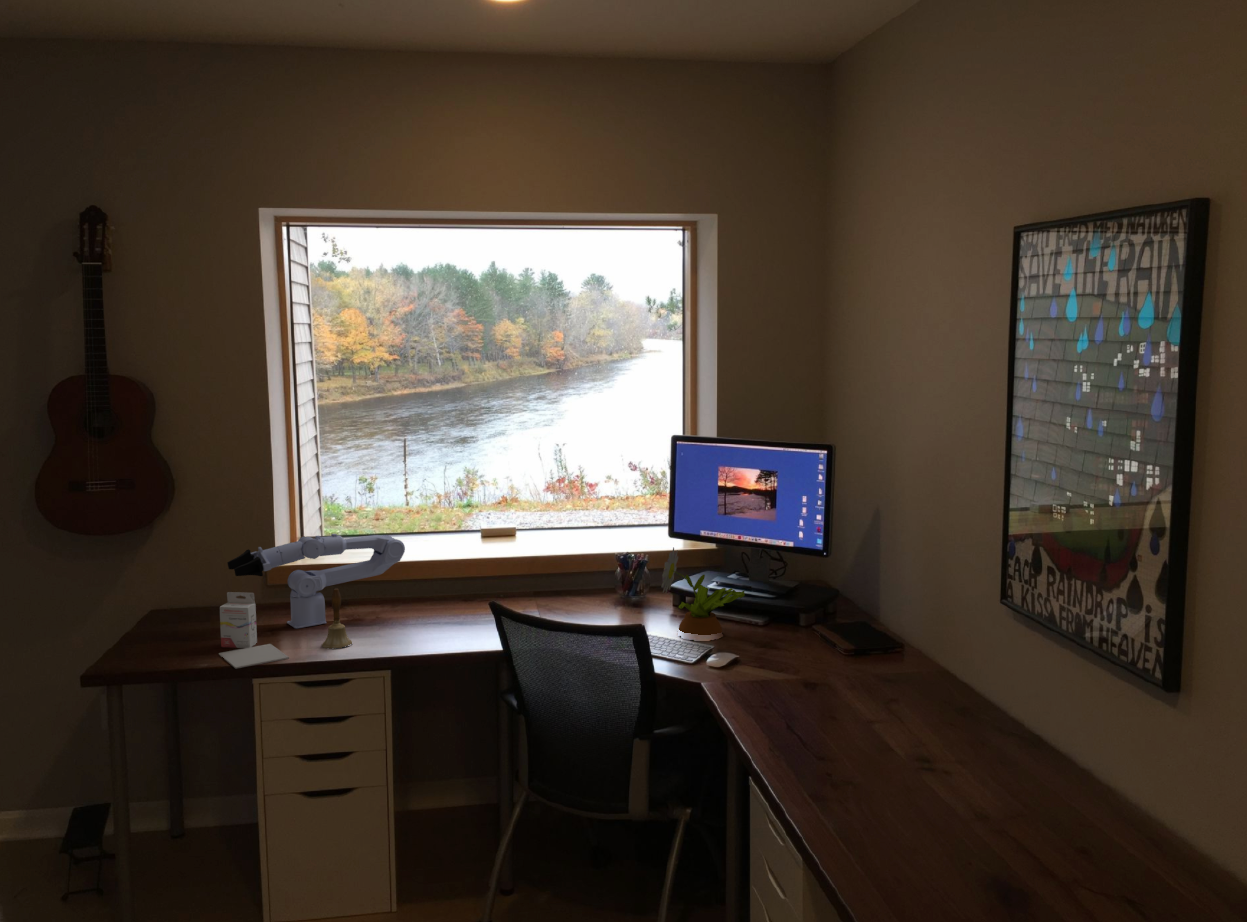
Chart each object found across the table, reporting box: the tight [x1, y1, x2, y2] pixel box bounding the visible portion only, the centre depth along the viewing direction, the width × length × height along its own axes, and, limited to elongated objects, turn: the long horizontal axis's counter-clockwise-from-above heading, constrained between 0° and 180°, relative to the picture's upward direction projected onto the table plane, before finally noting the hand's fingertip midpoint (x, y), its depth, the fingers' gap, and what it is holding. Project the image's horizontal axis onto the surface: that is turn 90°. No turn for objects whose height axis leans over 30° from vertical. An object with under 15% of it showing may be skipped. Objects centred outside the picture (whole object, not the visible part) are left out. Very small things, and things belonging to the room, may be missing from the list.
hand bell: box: [321, 588, 353, 650], centre depth 292 cm, size 8×8×16 cm
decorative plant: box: [660, 547, 746, 635], centre depth 298 cm, size 27×24×25 cm
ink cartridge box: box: [219, 591, 258, 649], centre depth 292 cm, size 9×5×15 cm, turn 84°
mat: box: [218, 643, 290, 670], centre depth 283 cm, size 14×15×1 cm
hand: (231, 569), depth 301 cm, fingers open, 7 cm apart
